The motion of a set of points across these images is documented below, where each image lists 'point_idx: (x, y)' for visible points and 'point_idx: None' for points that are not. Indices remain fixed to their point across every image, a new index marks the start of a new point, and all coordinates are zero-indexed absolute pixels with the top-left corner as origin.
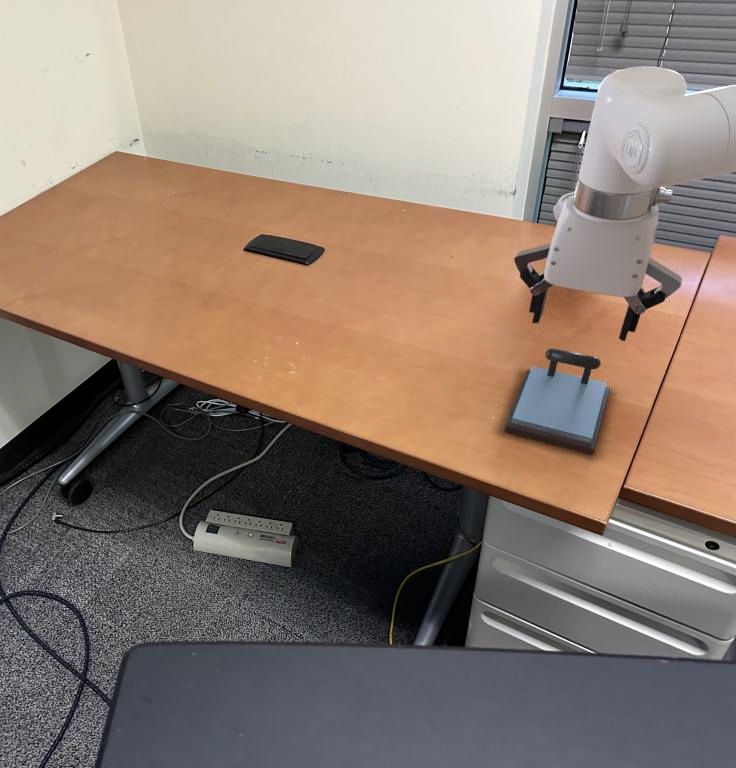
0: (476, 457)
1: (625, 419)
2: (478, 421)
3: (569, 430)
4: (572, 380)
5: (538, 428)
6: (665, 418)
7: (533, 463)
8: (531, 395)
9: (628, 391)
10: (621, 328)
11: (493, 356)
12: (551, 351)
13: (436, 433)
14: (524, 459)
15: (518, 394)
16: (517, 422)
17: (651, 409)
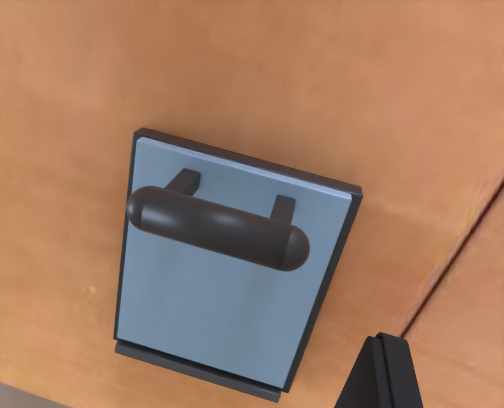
0: (86, 383)
1: (384, 279)
2: (67, 300)
3: (236, 368)
4: (251, 197)
5: (171, 367)
6: (490, 271)
7: (182, 395)
8: (147, 266)
9: (423, 170)
10: (352, 384)
11: (39, 41)
12: (137, 227)
13: (4, 333)
14: (166, 387)
15: (123, 242)
16: (128, 352)
17: (465, 240)
